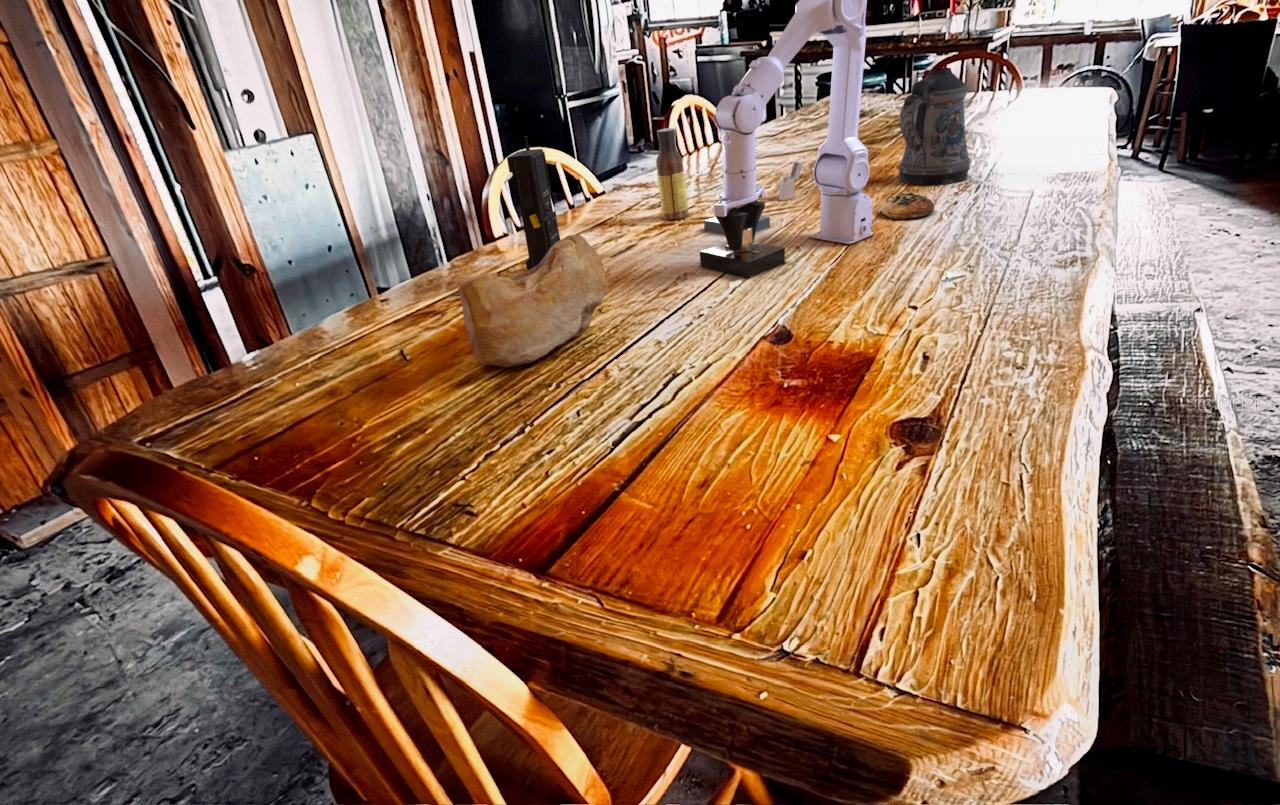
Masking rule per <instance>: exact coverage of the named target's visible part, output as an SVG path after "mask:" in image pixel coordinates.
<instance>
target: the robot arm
mask: <svg viewBox="0 0 1280 805" xmlns="http://www.w3.org/2000/svg"><path fill="white" fill-rule="evenodd" d="M867 3H868V0H798V1H797V2H796V4H795V13H794V15H793V16H792V17H791V19H790V20H789V22H788V24H787V26H786V27H785V28H784V30H783V32H782V33H781V35H780V37H779V38H778V39H777V41H776V42H775V44H774V46H773V47H772V49H771V50H770V51H769V54H768V55H767V56H761V57H758V58H757V59H756V60H752V61H751V62H750V64H749V65H748V67H749V69H748V71H747V72H746V74H745V75H744V76H743V78H742V79H741V80H740V82H739V83H738V84H736V85H735V86H734V87H733V89H732V93H731V95H727V96H724V97H723V98H722V99H721V100H720V101H719V103H718V105H717V106H716V108H715V114H713V115H712V118H713V122H714V125H715V127H716V128H717V130H718V132H719V139H720V140H721V154H722V177H723V178H722V179H723V180H722V182H723V193H721V194H719V195H718V199H719V201H718V202H717V203H715V204H713V215H714V216H713V217H716V218H717V220H718V221H719V223H720V224H721V226H722V228H723V230H724V233H725V234H724V235H725V239H726V242H728V246H729V249H730V250H737V251H739V250H741V247H742V238H743V228H744V225H750V226H752V240H753V242H755V238H756V234H757V232H756V229H757V224H758V221H759V218H760V216H762V213H763V212H764V209H765V207H766V203H765V201H758V200H759V199H764V198H765V197H766V188H765V186H760V185H757V160H756V158H757V157H756V155H757V154H756V153H757V152H756V130H757V129H758V128H759V127H760V126H761V125H762V122H763V116H764V110H765V109H766V106H767V104H768V103H769V102H770V100H771V99H772V97H773V96H774V95H775V93H776V92H777V90H778V89H779V88H780V86H781V85H782V83H783V82H784V81H785V72H784V70H785V68H787V66H788V65H789V64H790V63H791V61H792V60H793V59H794V58H795V56H796V55H797V54H798V53H799V52H800V50H802V48H803V47H804V45H805V44H806V43H807V42H808V41H809V40H810V38H811V37H812V36H813V35H814V34H820V35H821V36H823V37H825V39H826V40H827V42H829V43H830V44H831V46H832V47H833V49H832V50H833V52H832V66H831V79H830V80H831V81H830V95H829V96H830V97H829V110H828V111H829V112H828V125H827V127H828V128H827V137H826V138H827V139H826V140H824V142H822V143H821V145H819V147H818V148H817V155H816V158H815V161H814V164H813V168H812V179H813V181H814V184H816V185H817V186H818V191H819V192H820V220H819V221H820V222H819V224H820V225H819V231H817V232H816V233H812V234H811V235H810V238H813V239H815V240H816V239H817V240H823V241H828V242H834V243H838V244H845V245H852V244H854V243H857V242H860V241H861V240H864V239H866V238H869V237H872V236H873V235H874V232H873V231H872V225H873V224H872V223H873V205H874V204H873V199H872V197H871V196H870V195H869V194H866V193H863V189H864V188H865V186H866V185H867V183H868V181H869V179H870V174H871V168H870V164H869V149H868V148H867V147H866V146H865V144H864V143H862V141H861V140H860V139H859V126H860V124H859V123H860V112H861V100H862V92H863V91H862V89H863V79H864V78H863V77H864V65H865V53H866V42H867V26H866V15H867V5H868V4H867Z"/></svg>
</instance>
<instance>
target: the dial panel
mask: <svg viewBox="0 0 1280 805" xmlns="http://www.w3.org/2000/svg"><path fill="white" fill-rule="evenodd" d="M785 263H786V248H785V247H784V246H778V245H774V244H767V243H763V242H758V241H754V242H753V249H752V250H750V251H747V252H733V251H731V250H730V249H729V246H728V242H727V241H725V242H721V243H719V244H717V245H714V246H711V247H708V248H706V249H703V250H699V264H700V267H701V268H705V269H708V270H711V271H716V272H721V273H725V274H728V275H732V276H737V277H741V278H745V279H750V278H752V277H755V276H757V275H760V274H763V273H765V272H767V271H770V270H772V269H775V268H777V267H779V266H782V265H784V264H785Z"/></svg>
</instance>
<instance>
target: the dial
mask: <svg viewBox="0 0 1280 805" xmlns="http://www.w3.org/2000/svg"><path fill="white" fill-rule="evenodd" d="M752 249H753V240H752V226H750V225H744V228H743V238H742V247H741V250H739V251H737V250H731V251H733V252H747V251H750V250H752Z"/></svg>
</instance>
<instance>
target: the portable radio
mask: <svg viewBox="0 0 1280 805" xmlns="http://www.w3.org/2000/svg"><path fill="white" fill-rule="evenodd" d="M524 140H525V149H524V150H520V151H517V152H515V153H513V154H511V155H509V156H507V157H506V162H507V166H508V172H509V173H512V174H513V176H514V179H515V184H516V191H517V197H518V203H519V208H520V213H521V219H522V225H523V230H524V236H525V241H526V247H527V253H528V258H527V259H526V260H525V267H526V271H528V270H530V269H532V268H534V267H535V266H537V265H538V264H539V263H540V262H541V260H542V259H543V258H544V257H545V255H546V254H547V252H548V251H549V249H550V247H552V246H553V245H554V244H555V243H556V242H558V241H560V240H561V237H560V230H559V225H558V220H557V215H556V213H555V212H554V210H553V209H554V208H553V202H552V198H551V195H552V190H551V185H550V178H549V172H548V166H547V160H546V153H545V151H544V150H543V148H534V149H531V148H530V145H529V142H528V136H527V135H526V136H524Z"/></svg>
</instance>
